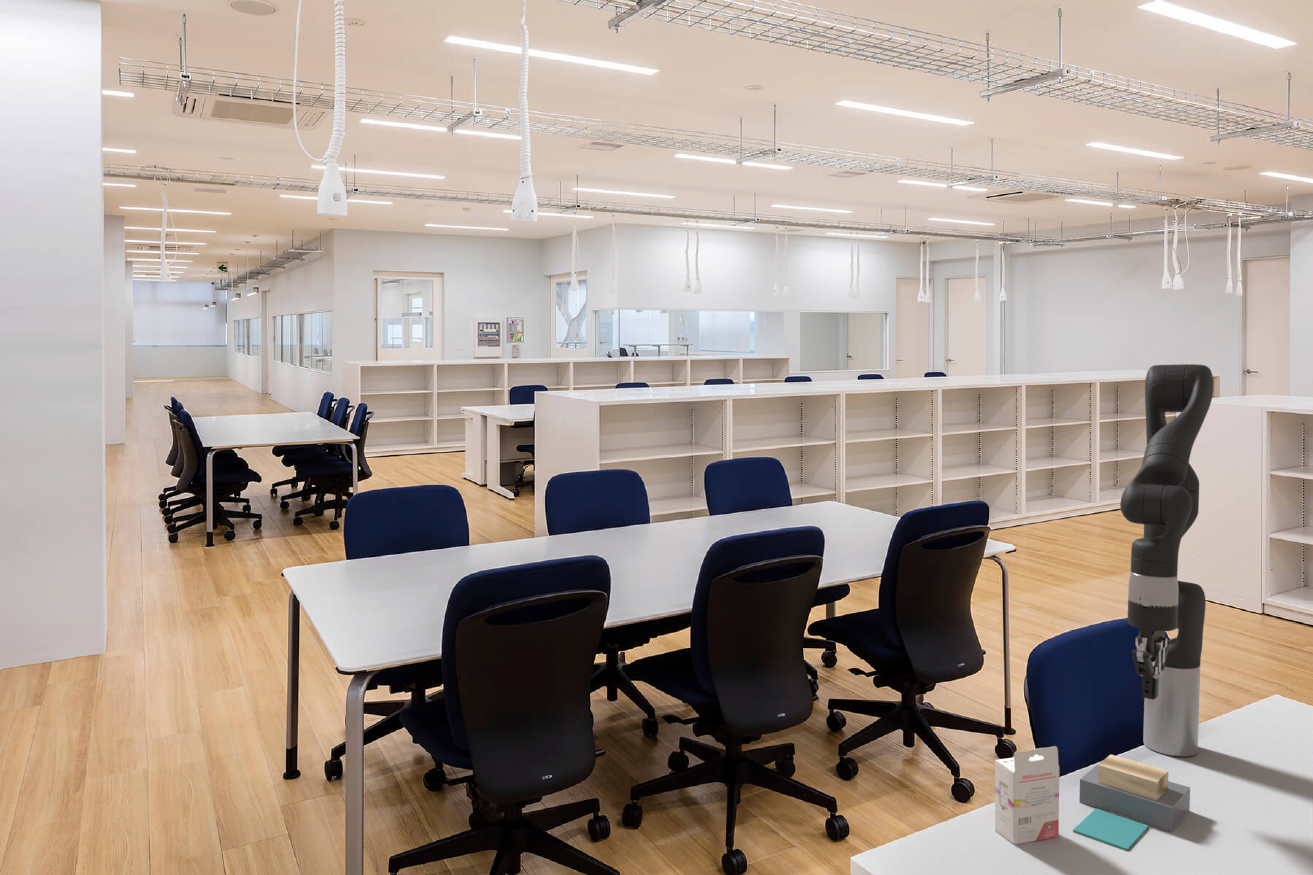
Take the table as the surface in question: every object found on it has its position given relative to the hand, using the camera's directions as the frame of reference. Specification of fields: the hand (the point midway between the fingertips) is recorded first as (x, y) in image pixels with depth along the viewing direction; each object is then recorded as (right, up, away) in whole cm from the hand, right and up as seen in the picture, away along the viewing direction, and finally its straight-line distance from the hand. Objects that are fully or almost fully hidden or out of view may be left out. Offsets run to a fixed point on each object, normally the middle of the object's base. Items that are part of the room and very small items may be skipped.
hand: (1149, 697), depth 149 cm
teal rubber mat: (-13, -18, -11) cm, 25 cm away
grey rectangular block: (-5, -17, -4) cm, 18 cm away
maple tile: (-6, -12, -5) cm, 14 cm away
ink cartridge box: (-27, -18, -13) cm, 35 cm away
